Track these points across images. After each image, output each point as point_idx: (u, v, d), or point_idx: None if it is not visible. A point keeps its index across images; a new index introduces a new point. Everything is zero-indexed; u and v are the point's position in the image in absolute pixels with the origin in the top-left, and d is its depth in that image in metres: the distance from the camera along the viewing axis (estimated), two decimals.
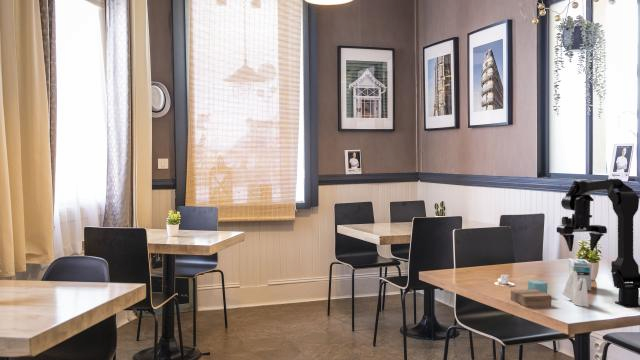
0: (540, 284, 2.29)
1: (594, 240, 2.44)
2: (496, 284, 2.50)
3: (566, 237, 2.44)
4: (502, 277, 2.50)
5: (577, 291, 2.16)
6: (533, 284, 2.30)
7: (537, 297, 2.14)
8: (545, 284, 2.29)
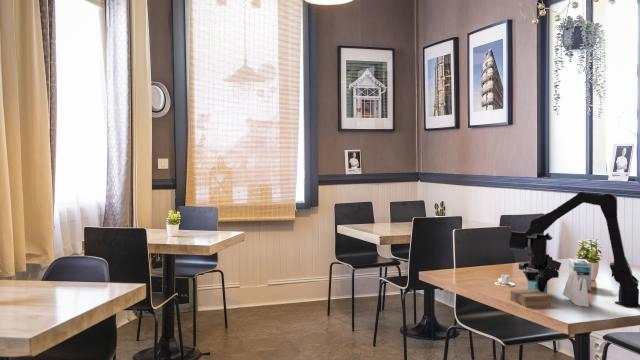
0: None
1: None
2: (496, 284, 2.50)
3: None
4: (502, 277, 2.50)
5: (577, 291, 2.16)
6: (533, 284, 2.30)
7: (537, 297, 2.14)
8: None
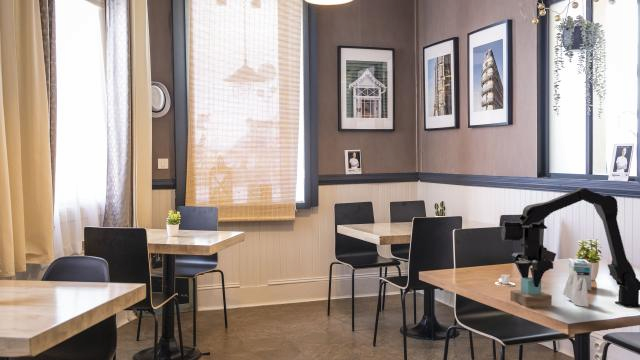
0: None
1: None
2: (497, 284, 2.50)
3: None
4: (503, 277, 2.50)
5: (577, 291, 2.16)
6: (526, 281, 2.17)
7: (538, 297, 2.14)
8: None
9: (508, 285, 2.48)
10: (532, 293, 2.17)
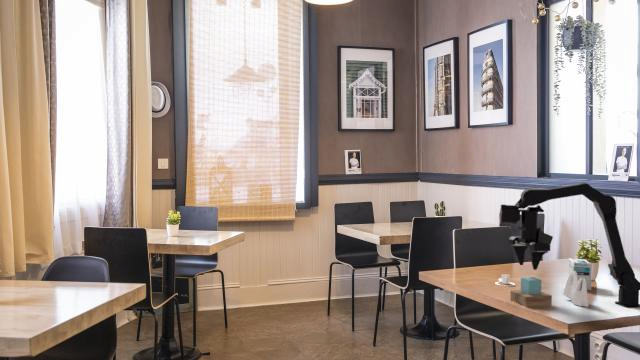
0: (534, 281, 2.17)
1: None
2: (497, 284, 2.50)
3: None
4: (503, 277, 2.50)
5: (577, 291, 2.16)
6: (527, 281, 2.17)
7: (538, 297, 2.14)
8: (539, 281, 2.17)
9: (508, 285, 2.49)
10: (532, 293, 2.17)
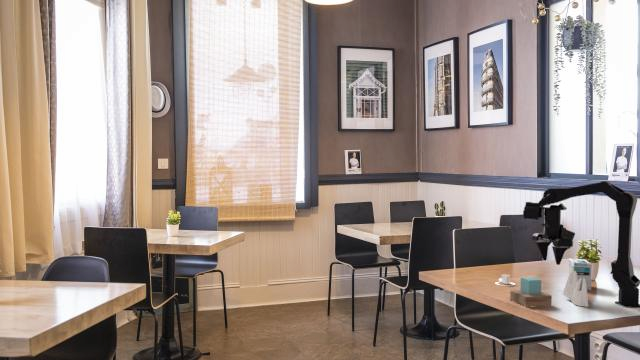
0: (534, 281, 2.17)
1: None
2: (497, 284, 2.50)
3: None
4: (503, 277, 2.50)
5: (577, 291, 2.16)
6: (526, 281, 2.17)
7: (538, 297, 2.14)
8: (539, 281, 2.17)
9: (508, 285, 2.49)
10: (532, 293, 2.17)
